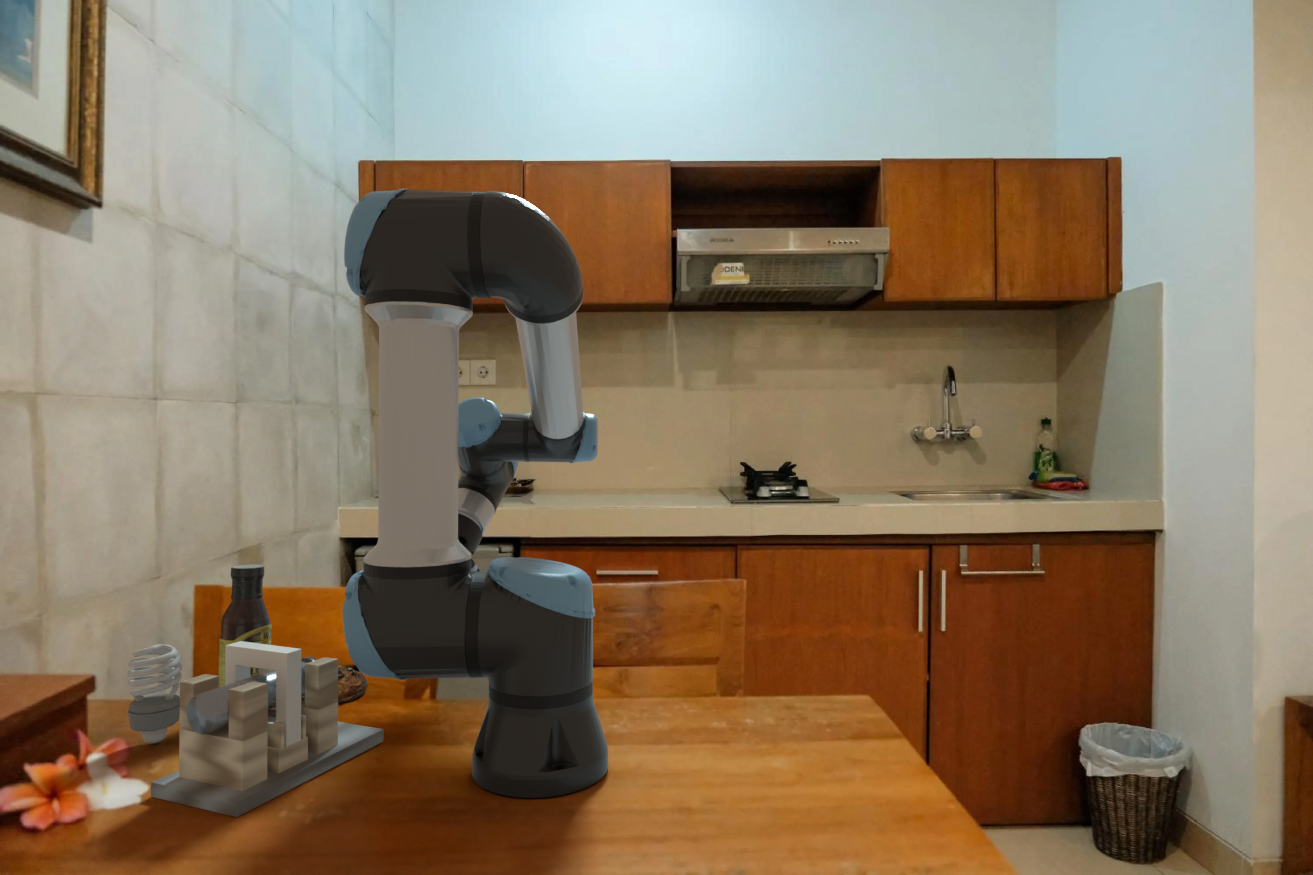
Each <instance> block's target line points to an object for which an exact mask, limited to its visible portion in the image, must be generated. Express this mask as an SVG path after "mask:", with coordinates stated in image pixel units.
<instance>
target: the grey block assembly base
mask: <svg viewBox="0 0 1313 875" xmlns="http://www.w3.org/2000/svg"><path fill="white" fill-rule="evenodd" d="M338 667H339V658H333V657H321V658H318V659H317V660H315V661H312V662H309V663H306V664H305V697H301V740H300V741H298V742H296V743H293V744H291V745H289V746H287V747H286V746H284V724H280V723H274V722H269V721H268V716H270V717H276V707H274V708H272V709H269V710H268V683H262V682H255V681H253V682H250V683H247V684H244V685H241V686H238V687H235V688H232V689H229V725H228V726H225V727H222V728H220V729H217V730H215V731H212V732H209V733H207V734H198V733H196V732H195V731H194V730H193V729H192V728H191V726H190V724H189V722H188V719H187V706H188V703H189V701H190V699H191V698H192V697H194V696H195V695H198V694H201V693H204V692H207V691H210V690H213V689H217V688H219V676H218V675H215V674H208V673H205V674H204V673H203V674H200V675H197V676H193V677H191V678H188V679H185V680H180V681H179V697H180V715H179V746H178V747H179V752H178V753H179V755H178V757H179V760H178V761H179V764H178V765H179V767H178V768H179V770H177V771H175V772H172V773H170V774H167V775H165V776H162V777H160V778H158V779H155V780H152V781H151V782H150V797H151V798H155V799H157V800H158V799H160V800H162V801H163V800H164V801H167V802H172V803H176V804H180V805H184V806H189V807H192V808H196V809H201V810H206V811H209V812H213V813H217V814H223V815H226V816H230V817H234V818H238V817H240V816H242V815H244V814H246V813H247V812H250V811H251V810H253V809H255V808H257V807H259V806H261V805H263V804H265V803H267V802H269V801H271V800H272V799H275V798H277V797H279V796H281V795H283V794H284V793H287V792H289V791H290V790H292V789H294V788H296V787H298V786H300V785H302V784H303V783H305V782H308V781H310V780H311V779H313V778H315V777H317V776H319V775H321V774H323V773H325V772H327V771H329V770H331V769H332V768H335V767H337V766H338V765H341V764H342V763H344V762H347V761H348V760H351V759H352V758H354V757H356V756H358V755H360V754H362V753H364V752H366V751H368V750H369V749H372V748H373V747H375V746H377V745H379V744H381V743H383V742H384V729H383V728H379V727H371V726H366V725H361V724H355V723H348V722H343V721H342V722H341V721H339V703H338ZM268 671H271V670H269V669H262V668H259V674H262V673H265V672H268Z"/></svg>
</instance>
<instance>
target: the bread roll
mask: <svg viewBox="0 0 1313 875" xmlns="http://www.w3.org/2000/svg"><path fill="white" fill-rule="evenodd" d="M367 688H368V681H367V678H366V677H365V674H364V673H362V672H359V671H357V670H355V669H354V668H352V667H347V668H344V667H340V666H338V704H341V703H344V702H345V703H346V702H348V701H349V702H352V701H353V700H355V699H357V698H359V697H361V696H363V695H364V694H365V692H366V691H367ZM303 697H305V696H303Z"/></svg>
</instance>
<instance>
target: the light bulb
mask: <svg viewBox="0 0 1313 875" xmlns="http://www.w3.org/2000/svg"><path fill="white" fill-rule="evenodd" d="M152 655H153V656H155V657H142V658H137V657H141V656H152ZM132 656H133V658H135V659H131V660H129V662H128V663H127V666H128V667H129V668H131V669H129V670H128V671H127V673H126V675H127V677H129V678H130V679H129V680H128V681H127V685H128V686H129V687H133V688H134V687H136V688H137V687H145V686H149V685H154V684H158V685H155V686H151V687H146V688H140V689H130V690H129V694H130V695H131V696H132V697H134V700H133V701H131V702H130V704H129V705H128V712H127V714H128V721H129V727H130V729H131V730H132V731H135V732H141V734H142V735H141V736H142V740H143V741H144V742H145V743H147V744H150V745H154V744H155V745H156V744H159V743H160V742H161V741H163V740H164V739H165V738H166V737H167V734H168V728H169V727H172V726H174V725H175V724H177V723H178V722H179V721H180V695H178V694H176V693H177V692H178V689H180V681H181V679H182V674H183V673H181V671H183V670H182V669H183V664H182V663H181V662H182V659H183V658H182V655H181V654H180V653H179V652H178V650H177V649H176V647H175V646H172V645H170V644H161V643H159V644H153V645H151V646H148V647H146V648H141V649H137V650H134V652H132ZM152 665H158V666H152ZM155 674H161V675H155ZM170 688H171V690H170V692H169V693H158V692H162V691H165V690H167V689H170ZM155 693H157V694H155Z"/></svg>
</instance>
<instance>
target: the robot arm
mask: <svg viewBox="0 0 1313 875" xmlns="http://www.w3.org/2000/svg"><path fill="white" fill-rule="evenodd" d="M352 209H353V210H352V212H351V214H350V217H349V220H348V223H347V227H346V233H345V238H344V249H343V250H344V251H343V253H344V254H343V256H344V257H343V258H344V260H343V261H344V267H346V273H345V274H346V275H345V276H346V281H347V285H348V286H349V288H350V290H351V291H352V293H353V294H355V295H356V296H357V297H361V298H362V299H364V311H365V313H366V314H367V315H368V316H369V317H370V318H371V319H372V320H373V321H374V322H375V323H376V324H377V326H378V334H379V335H378V339H379V340H378V505H377V506H378V510H377V512H378V514H377V516H378V523H377V524H378V528H377V529H378V530H377V532H378V534H377V542H376V544H375V545H374V547H373V548H371V549H370V551H369V552H368V553H367V554H366V555H364V557H363V569H361V570H359V571H358V572H355V573H354V574H353V575H351V577H350V578H349V580H348V582H347V583H346V587H345V590H344V598H345V600H344V601H343V604H342V626H343V634H344V639H345V640H344V641H345V644H346V648H347V649H346V650H347V651H348V655H349V656H350V659H351V661H352V662H353V664H354V665H355V666H356V668H357V669H358V670H359V671H360V673H362V674H363V675H364V676H365V675H366V676H369V677H370V678H371V677H372V678H382V679H383V678H384V679H385V678H387V679H395V680H397V681H398V680H399V681H406V680H408V679H460V678H462V679H463V678H465V679H469V678H470V679H473V678H476V679H478V678H481V679H482V678H485V679H488V704H487V708H486V711H485V713H484V716H483V720H482V722H481V727H480V728H479V731H478V736H477V737H476V738H477V739H476V741H475V745H474V748H473V750H472V757H471V758H472V759H471V760H472V761H471V767H472V768H471V774H472V775H471V776H472V779H473V780H474V782H475V784H477V785H478V786H479V787H481V788H482V789H484V790H485V791H489V792H491V793H494V794H497V795H501V796H506V797H512V798H513V797H514V798H527V799H528V798H531V799H533V798H534V799H536V798H549V797H557V796H558V797H559V796H561V795H563V796H564V795H567V794H568V795H569V794H572V793H574V792H579V791H581V790H584V789H587V788H588V787H591V786H592V785H594V784H596V783H598V782H599V781H600V780H602V778H604V777H605V775H606V774H607V771H608V769H609V746H608V742H607V740H606V736H605V732H604V730H603V727H602V723H601V720H600V717H599V714H598V711H597V708H596V704H595V701H594V681H593V680H594V655H593V654H594V643H593V642H594V639H593V638H594V637H593V636H594V635H593V634H594V632H593V629H594V626H593V624H594V620H593V619H594V618H595V616H596V609H595V607H594V597H593V594H594V593H593V583H592V579H591V576H590V575H589V574H588V573H587V572H586V571H584V570H583V569H581V568H580V567H577V566H575V565H572V564H569V563H564V562H561V561H555V560H550V559H545V558H535V557H525V556H522V557H521V556H519V557H511V556H505V557H497V558H494V559H492V560H491V561H490V563H489V565H488V567H487V571H481V570H480V568H479V567H478V565H477V564H476V563H475V561H474V560H473V559H472V557H473V556H474V554H475V553H476V552H477V548H478V547H479V545H480V543H481V541H482V539H483V535H484V534H485V533H486V531H487V529H488V527H489V525H490V523H491V521H492V519H493V517H494V516H495V514H496V511H497V509H498V507H499V505H500V503H501V501H502V500H503V498H504V496H505V494H506V493H507V490H508V488H509V486H510V485H511V484H512V483H513V480H514V479H515V474H516V473H517V469H518V466H519V463H530V462H531V463H536V462H537V463H569V464H574V463H585V462H592V461H594V460H596V458H597V456H598V450H599V448H598V446H599V443H598V442H599V427H598V426H599V425H598V418H597V416H596V415H595V414H593V413H586V412H584V404H583V392H582V377H581V364H580V350H579V349H580V347H579V336H578V334H579V333H578V320H577V311H579V308H580V307H581V305H582V304H583V299H584V289H583V288H584V285H583V284H584V283H583V275H582V270H581V266H580V263H579V261H578V259H577V256H576V254H575V251H574V250H573V247H572V246H571V244H570V243H569V240H568V239H567V238H566V236H565V234H563V232H562V231H561V230H560V228H559V227H558V226H557V225H556V224H555V223H554V222H553V220H552V219H551V218H550V217H549V216H548V215H547V214H545V213H544V212H543V211H541V209H539V208H538V207H536V206H535V205H534V204H532V203H530V202H529V201H527V200H526V199H524V198H522V197H519V196H517V195H514V194H511V193H508V192H503V191H495V190H489V191H488V190H487V191H486V190H485V191H465V190H464V191H463V190H462V191H461V190H459V191H458V190H436V189H435V190H434V189H429V190H428V189H408V188H399V189H397V190H378V191H376V190H375V191H371V192H368V193H365V195H364V196H362V197H361V198H360V199H359V201H358V202H357V203H356V204H355V206H354V207H353V208H352ZM492 298H495V299H496V298H497V299H502V300H503V301H504V302H503V303H504V305H505V308H506V309H507V311H508V312H509V314H510V315H511V316H513V317H514V318H515V324H516V329H517V334H518V342H519V347H520V353H521V358H522V364H523V370H524V374H525V375H524V376H525V381H526V382H525V383H526V388H527V394H528V400H529V406H530V410H531V412H501V411H500V410H499V408H498V406H497V404H496V403H495V402H494V401H492V400H488V399H486V398H485V397H478V396H477V397H469V398H466V399H464V400H462V401H460V400H459V399H460V398H459V397H460V396H459V393H460V392H459V390H460V389H459V386H460V385H459V382H460V380H459V376H460V375H459V374H460V372H459V370H460V360H459V359H460V356H459V355H460V352H459V351H460V349H459V348H460V329H461V328H462V326H463V325H464V324H466V322H468V321H469V320H470V319H471V318H472V317H473V313H474V312H473V309H474V308H473V305H474V304H473V303H474V299H492ZM459 401H460V402H459ZM459 471H460V477H459Z"/></svg>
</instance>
